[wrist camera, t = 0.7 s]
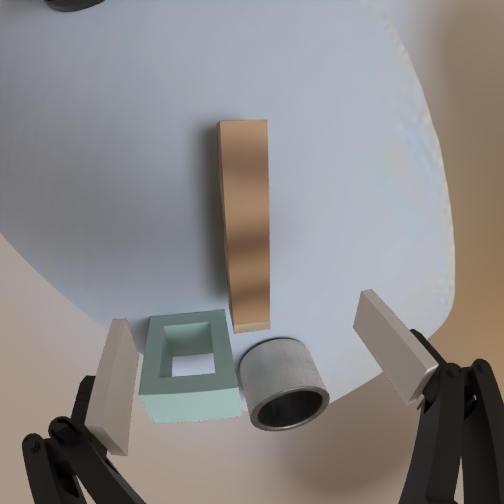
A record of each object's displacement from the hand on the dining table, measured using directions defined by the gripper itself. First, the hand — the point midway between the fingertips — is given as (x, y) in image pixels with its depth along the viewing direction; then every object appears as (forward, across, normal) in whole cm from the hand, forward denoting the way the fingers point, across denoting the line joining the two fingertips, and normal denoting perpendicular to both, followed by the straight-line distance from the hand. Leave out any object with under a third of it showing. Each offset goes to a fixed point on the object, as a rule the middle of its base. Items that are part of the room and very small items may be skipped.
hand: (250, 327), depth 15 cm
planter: (+21, +7, -28) cm, 36 cm away
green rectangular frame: (+21, -6, -18) cm, 28 cm away
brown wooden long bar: (+18, +2, 0) cm, 18 cm away
